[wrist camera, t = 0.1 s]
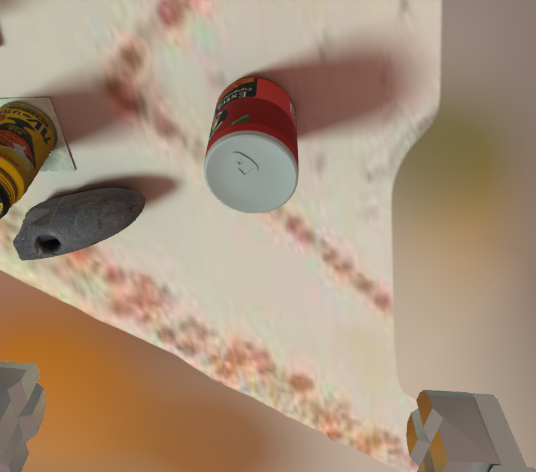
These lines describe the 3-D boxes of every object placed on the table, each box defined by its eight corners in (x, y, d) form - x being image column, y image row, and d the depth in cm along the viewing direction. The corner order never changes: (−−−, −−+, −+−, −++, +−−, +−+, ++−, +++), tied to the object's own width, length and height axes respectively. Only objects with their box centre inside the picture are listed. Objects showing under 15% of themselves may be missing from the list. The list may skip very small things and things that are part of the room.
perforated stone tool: (140, 168, 54) (125, 208, 49) (160, 205, 57) (148, 247, 52) (19, 197, 57) (-8, 238, 51) (45, 231, 60) (22, 272, 55)
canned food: (245, 57, 45) (237, 116, 37) (312, 106, 48) (319, 171, 40) (200, 117, 50) (184, 182, 41) (265, 159, 53) (262, 228, 44)
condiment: (49, 96, 48) (-3, 165, 39) (76, 169, 54) (35, 245, 45) (-24, 98, 49) (-93, 168, 40) (9, 171, 54) (-44, 246, 45)
